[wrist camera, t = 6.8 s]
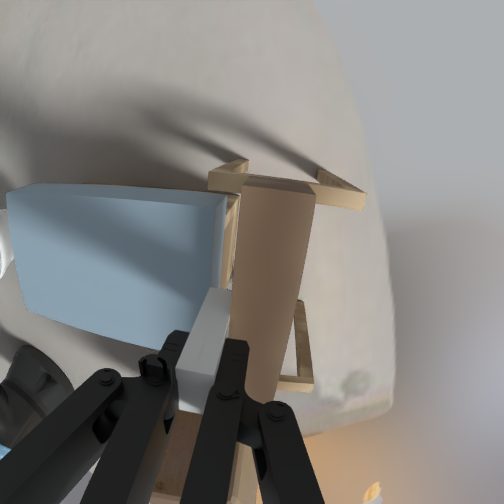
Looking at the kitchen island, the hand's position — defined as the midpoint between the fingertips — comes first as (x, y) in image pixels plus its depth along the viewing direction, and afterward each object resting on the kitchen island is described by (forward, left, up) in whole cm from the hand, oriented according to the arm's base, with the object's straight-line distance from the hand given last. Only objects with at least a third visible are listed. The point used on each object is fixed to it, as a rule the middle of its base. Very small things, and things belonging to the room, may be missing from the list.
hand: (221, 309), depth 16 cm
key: (+2, 0, -1) cm, 2 cm away
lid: (-10, 0, -5) cm, 11 cm away
